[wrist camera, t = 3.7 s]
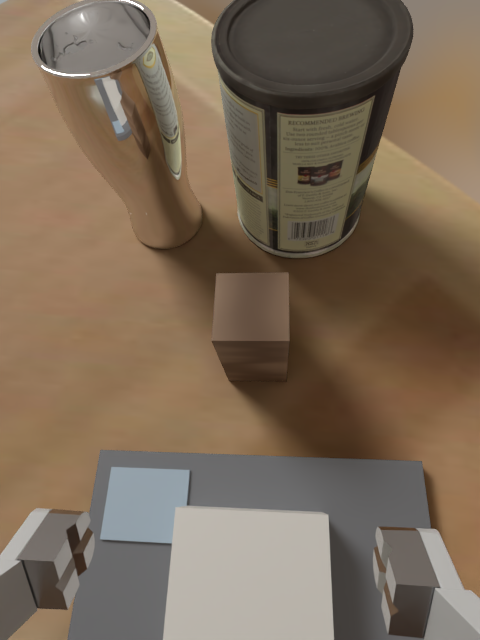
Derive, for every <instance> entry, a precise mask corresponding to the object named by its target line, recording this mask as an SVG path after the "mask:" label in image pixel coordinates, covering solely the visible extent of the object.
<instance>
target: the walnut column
mask: <svg viewBox="0 0 480 640" xmlns="http://www.w3.org/2000/svg"><path fill="white" fill-rule="evenodd" d="M289 341H290V338H289V273H216V286H215V299H214V313H213V327H212V343H213V345H214V347H215V350H216V352H217V354H218V357H219V359H220V361H221V364H222V366H223V368H224V370H225V373H226V375H227V377H228V380H229V381H279V382H286V379H287V367H288V354H289Z"/></svg>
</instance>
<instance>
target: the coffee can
mask: <svg viewBox="0 0 480 640" xmlns="http://www.w3.org/2000/svg"><path fill="white" fill-rule="evenodd" d="M412 39H413V23H412V19H411V16H410V13H409V11H408V9H407V7H406V6H405V5H404V3H403V2H402V1H401V0H233V2H231V3H230V4H229V5H228V6H227V7H226V8H225V9H224V10H223V12H222V13H221V14H220V16H219V17H218V19H217V21H216V23H215V25H214V28H213V31H212V39H211V44H212V52H213V57H214V61H215V64H216V67H217V69H218V75H219V82H220V89H221V96H222V102H223V109H224V116H225V122H226V129H227V136H228V142H229V149H230V158H231V163H232V170H233V177H234V184H235V191H236V197H237V204H238V217H239V222H240V224H241V227H242V229H243V231H244V232H245V234H246V235H247V236H248V238H249V239H250V240H251V241H252V242H254V243H255V244H256V245H257V246H259V247H260V248H262V249H263V250H265V251H267V252H269V253H272V254H274V255H278V256H282V257H287V258H308V257H314V256H318V255H321V254H324V253H327V252H329V251H331V250H333V249H335V248H337V247H338V246H340V245H341V244H342V243H343V242H344V241H345V240H347V239H348V237H349V236H350V235H351V234H352V232H353V231H354V229H355V227H356V225H357V223H358V220H359V216H360V209H361V206H362V202H363V199H364V195H365V191H366V188H367V185H368V181H369V178H370V174H371V171H372V167H373V164H374V160H375V156H376V153H377V149H378V146H379V142H380V139H381V136H382V132H383V129H384V126H385V122H386V119H387V115H388V112H389V108H390V105H391V101H392V98H393V94H394V90H395V87H396V84H397V80H398V76H399V73H400V69H401V67H402V65H403V63H404V62H405V60H406V57H407V55H408V52H409V49H410V46H411V43H412Z"/></svg>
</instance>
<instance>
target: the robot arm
mask: <svg viewBox="0 0 480 640" xmlns="http://www.w3.org/2000/svg"><path fill="white" fill-rule="evenodd" d="M90 521H91V520H90V517H89V513H88V512H83V511H70V510H58V509H43V508H36V509H35V510H34V511H32V512H31V513H30V514H29V516H28V517H27V519H26V520H25V521H24V523H23V524H22V526H21V527H20V528H19V530H18V531H17V532H16V534H15V535H14V537H13V538H12V539H11V541H10V542H9V544H8V545H7V546H6V548H5V549H4V551H3V552H2V553H1V555H0V640H7V639H8V638H9V637H10V636H11V635H12V634H13V633H14V632H16V631H17V630H18V629H19V628H20V627H21V626H22V625H23V624H24V623H25V622H26V621H27V620H28V619H29V618H30V617H31V616H32V615H33V614H34V613H35V612H36V611H37V608H40V609H63V610H68V608H69V606H70V604H71V602H72V600H73V598H74V596H75V594H76V592H77V589H78V587H79V585H80V584H79V579H78V576H79V575H81V574H82V573H83V572H84V571H85V570H87V568H88V566H89V564H90V562H91V560H92V556H93V552H94V548H95V538H94V533H93V532H92V531H91V530H90V529H89V528H88V525H89V523H90ZM375 537H376V541H377V546H376V547H375V548H374V551H373V570H374V577H375V582H376V586H377V589H378V590H379V591H380V592H381V593H382V595H383V597H382V604H381V608H382V612H383V616H384V620H385V624H386V628H387V633H388V635H396V636H405V637H414V638H424V640H480V598H479V597H478V596H477V595H476V594H474V593H473V592H472V591H471V590H465V589H464V587H463V585H462V582H461V580H460V578H459V576H458V573H457V571H456V569H455V567H454V564H453V562H452V560H451V558H450V555H449V553H448V551H447V549H446V546H445V544H444V542H443V540H442V537H441V535H440V533H439V532H438V531H437V530H436V529H423V528H416V529H415V528H406V527H381V526H378V527H377V529H376V535H375Z"/></svg>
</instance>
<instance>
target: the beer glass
mask: <svg viewBox="0 0 480 640" xmlns="http://www.w3.org/2000/svg"><path fill="white" fill-rule="evenodd" d="M31 52H32V57H33V59H34V61H35V63H36V64H37V66H38V68H39V70H40V72H41V74H42V76H43V78H44V80H45V83H46V85H47V87H48V89H49V91H50V93H51V96H52V98H53V100H54V102H55V104H56V106H57V108H58V110H59V112H60V114H61V116H62V118H63V120H64V122H65V123H66V125H67V127H68V129H69V131H70V132H71V134H72V136H73V137H74V139H75V141H76V142H77V144H78V145H79V147H80V149H81V150H82V152H83V153H84V154H85V156H86V157H87V158H88V160H89V161H90V162H91V164H92V165H93V166H94V167H95V169H96V170H97V171H98V172H99V173H100V175H101V176H102V177H103V178H104V179H105V180H106V182H107V183H108V184H109V185H110V186H111V187H112V189H113V190H114V191H115V192H116V193H117V195H118V196H119V197H120V198H121V199H122V201H123V203H124V204H125V206H126V208H127V210H128V213H129V217H130V221H131V225H132V229H133V231H134V233H135V235H136V237H137V238H138V239H139V240H140V241H141V242H142V243H144V244H145V245H147V246H149V247H152V248H157V249H169V248H174V247H177V246H180V245H182V244H184V243H186V242H187V241H189V240H190V239H191V238H192V237H193V236H194V235H195V234H196V233H197V231H198V230H199V228H200V226H201V223H202V209H201V206H200V203H199V201H198V200H197V198H196V196H195V194H194V193H193V191H192V189H191V187H190V184H189V180H188V174H187V160H186V141H185V129H184V121H183V113H182V108H181V104H180V99H179V94H178V90H177V87H176V83H175V80H174V76H173V73H172V69H171V66H170V63H169V60H168V57H167V54H166V51H165V48H164V46H163V43H162V40H161V37H160V34H159V31H158V28H157V23H156V19H155V16H154V15H153V13H152V12H151V10H150V9H149V8H148V7H146V6H145V5H144V4H142V3H140V2H138V1H136V0H84V1H81V2H78V3H75V4H73V5H70V6H68V7H66V8H64V9H62V10H60V11H59V12H57V13H56V14H54V15H53V16H51V17H50V18H49V19H48V20H47V21H46V22H45V23H44V24H43V25H42V26H41V27H40V28H39V29H38V31H37V32H36V34H35V36H34V38H33V41H32V46H31Z"/></svg>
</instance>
